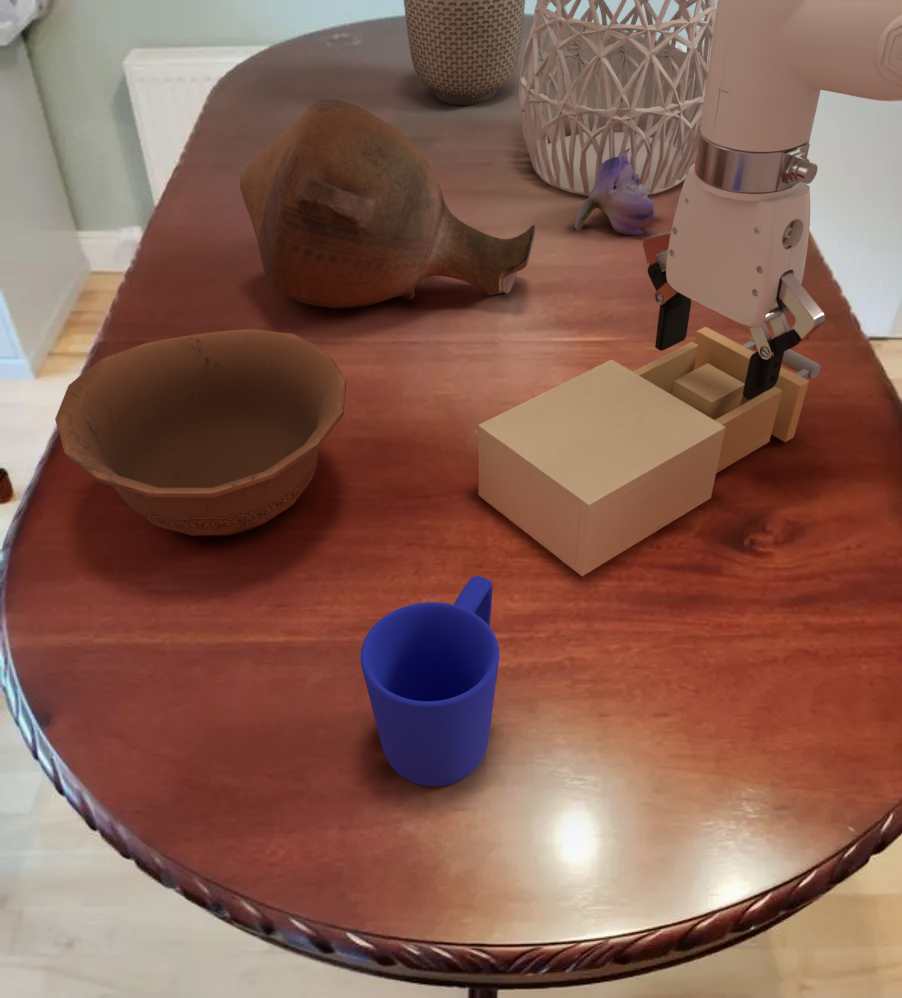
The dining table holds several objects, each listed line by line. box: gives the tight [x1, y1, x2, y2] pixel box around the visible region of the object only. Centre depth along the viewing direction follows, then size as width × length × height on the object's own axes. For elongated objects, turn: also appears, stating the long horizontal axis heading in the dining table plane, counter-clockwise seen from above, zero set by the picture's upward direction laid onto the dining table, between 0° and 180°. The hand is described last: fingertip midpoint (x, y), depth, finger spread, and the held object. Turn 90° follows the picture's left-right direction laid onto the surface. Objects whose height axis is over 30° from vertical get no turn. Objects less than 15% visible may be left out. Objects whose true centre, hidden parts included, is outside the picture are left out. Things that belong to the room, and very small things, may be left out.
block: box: [672, 363, 745, 420], centre depth 86 cm, size 4×4×4 cm
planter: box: [403, 0, 526, 106], centre depth 143 cm, size 17×17×16 cm
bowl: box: [54, 328, 347, 537], centre depth 80 cm, size 22×22×11 cm
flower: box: [573, 148, 656, 236], centre depth 115 cm, size 9×9×10 cm
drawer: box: [631, 326, 822, 474], centre depth 87 cm, size 19×11×6 cm, turn 128°
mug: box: [360, 575, 500, 788], centre depth 64 cm, size 8×12×10 cm
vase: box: [518, 0, 717, 197], centre depth 119 cm, size 24×24×30 cm
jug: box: [239, 98, 537, 309], centre depth 101 cm, size 20×20×30 cm
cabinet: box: [477, 359, 726, 577], centre depth 81 cm, size 15×13×8 cm
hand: (712, 367), depth 83 cm, fingers open, 9 cm apart
